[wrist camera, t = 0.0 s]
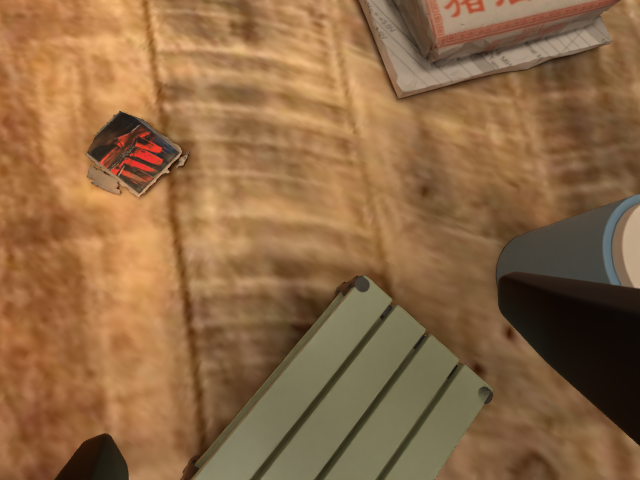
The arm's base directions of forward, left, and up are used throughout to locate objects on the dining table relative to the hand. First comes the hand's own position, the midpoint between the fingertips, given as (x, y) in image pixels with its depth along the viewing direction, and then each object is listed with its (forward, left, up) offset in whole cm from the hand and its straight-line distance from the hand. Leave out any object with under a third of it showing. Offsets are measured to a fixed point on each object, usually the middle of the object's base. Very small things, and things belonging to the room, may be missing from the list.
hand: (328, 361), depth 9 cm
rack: (-5, +2, -15) cm, 16 cm away
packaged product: (+5, -27, -15) cm, 31 cm away
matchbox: (+14, -2, -15) cm, 20 cm away
